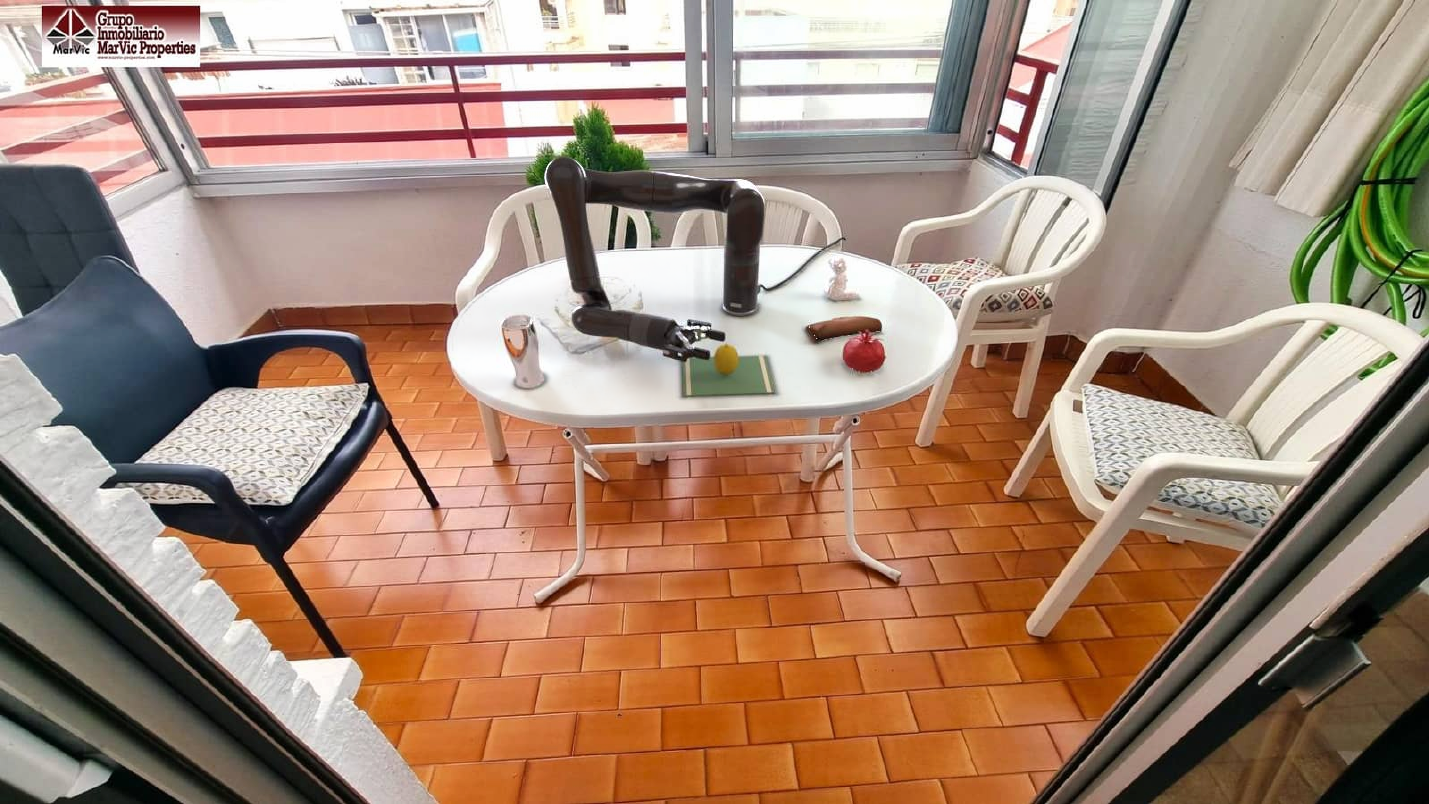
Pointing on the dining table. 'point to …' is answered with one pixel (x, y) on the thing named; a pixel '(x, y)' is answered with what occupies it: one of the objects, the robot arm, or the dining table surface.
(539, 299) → the dining table surface
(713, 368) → the cloth
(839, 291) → the white creature statuette
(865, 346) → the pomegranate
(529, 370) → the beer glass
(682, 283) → the dining table surface
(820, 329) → the sunglasses case
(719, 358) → the lemon
